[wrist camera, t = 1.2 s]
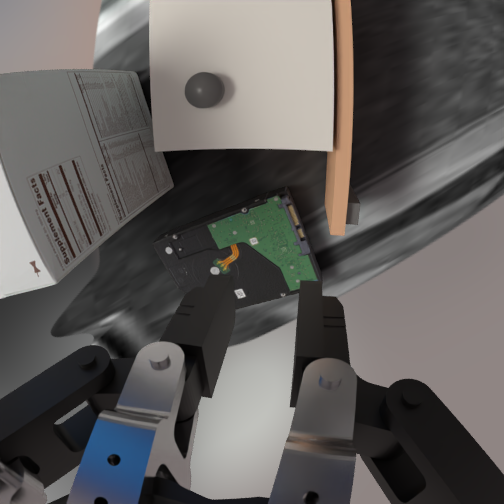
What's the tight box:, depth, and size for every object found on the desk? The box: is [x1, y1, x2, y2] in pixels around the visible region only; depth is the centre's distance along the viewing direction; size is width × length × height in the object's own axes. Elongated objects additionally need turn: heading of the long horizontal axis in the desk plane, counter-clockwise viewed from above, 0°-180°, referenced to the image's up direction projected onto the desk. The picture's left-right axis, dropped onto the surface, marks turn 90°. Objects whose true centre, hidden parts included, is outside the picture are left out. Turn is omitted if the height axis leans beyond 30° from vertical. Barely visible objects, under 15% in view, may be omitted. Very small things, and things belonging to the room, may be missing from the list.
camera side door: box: [325, 0, 360, 236], centre depth 19 cm, size 22×2×7 cm, turn 1°
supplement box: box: [0, 69, 174, 299], centre depth 22 cm, size 17×13×18 cm
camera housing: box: [149, 0, 334, 152], centre depth 18 cm, size 18×12×9 cm
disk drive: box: [153, 187, 322, 309], centre depth 31 cm, size 10×3×15 cm
